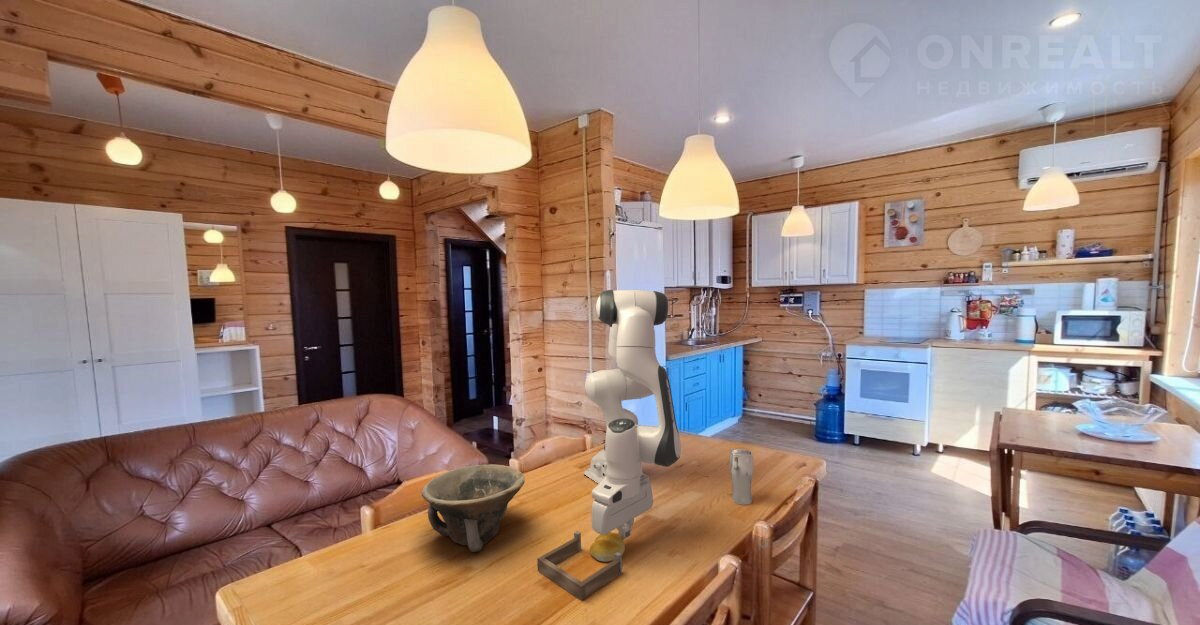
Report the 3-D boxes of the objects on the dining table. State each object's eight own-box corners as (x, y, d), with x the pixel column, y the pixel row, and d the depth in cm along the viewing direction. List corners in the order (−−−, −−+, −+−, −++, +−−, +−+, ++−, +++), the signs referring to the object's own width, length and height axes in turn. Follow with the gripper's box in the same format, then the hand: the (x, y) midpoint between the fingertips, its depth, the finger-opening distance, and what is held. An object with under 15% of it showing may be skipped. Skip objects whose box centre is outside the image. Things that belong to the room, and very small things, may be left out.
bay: (537, 570, 103) (536, 552, 103) (578, 547, 112) (577, 530, 112) (581, 600, 92) (580, 580, 92) (622, 572, 101) (621, 553, 101)
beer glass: (755, 506, 131) (754, 456, 131) (731, 504, 133) (730, 455, 132) (752, 496, 138) (751, 448, 138) (729, 494, 139) (728, 448, 139)
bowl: (494, 501, 140) (492, 455, 139) (545, 530, 121) (543, 477, 121) (408, 535, 121) (406, 481, 121) (453, 575, 102) (450, 512, 102)
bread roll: (585, 559, 107) (585, 543, 107) (599, 540, 115) (598, 525, 115) (617, 566, 104) (617, 549, 104) (629, 546, 112) (628, 530, 112)
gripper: (639, 469, 122) (641, 518, 123) (586, 493, 108) (588, 549, 108) (657, 474, 118) (659, 525, 118) (604, 501, 104) (606, 559, 104)
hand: (625, 537), depth 113 cm, fingers closed
